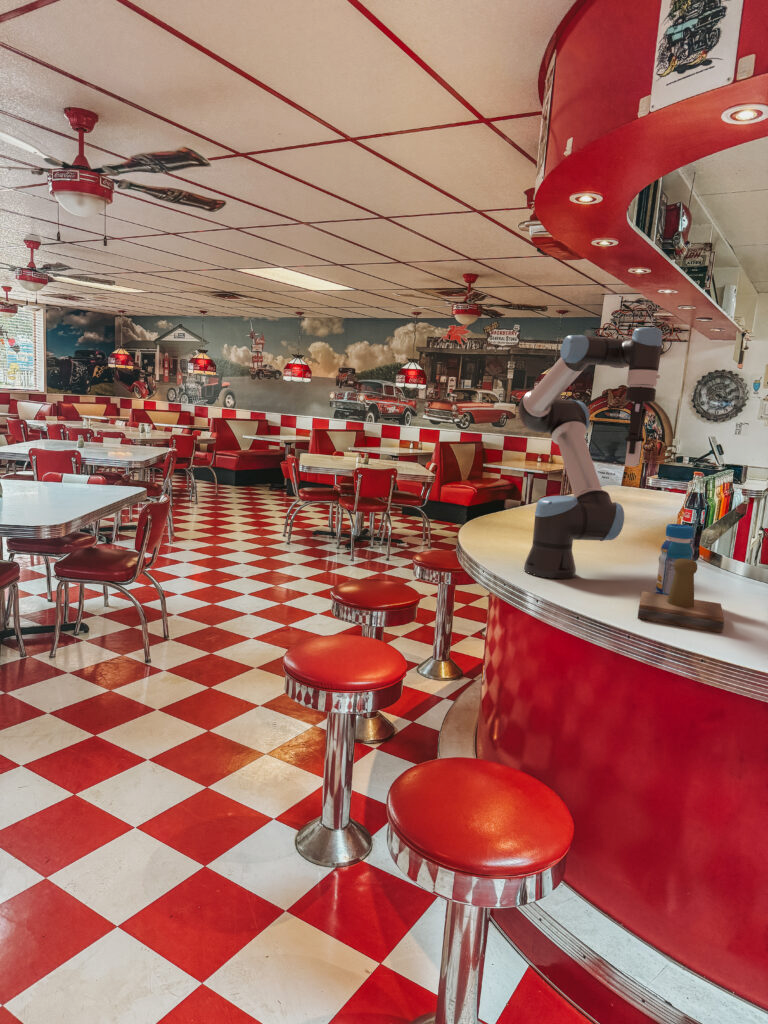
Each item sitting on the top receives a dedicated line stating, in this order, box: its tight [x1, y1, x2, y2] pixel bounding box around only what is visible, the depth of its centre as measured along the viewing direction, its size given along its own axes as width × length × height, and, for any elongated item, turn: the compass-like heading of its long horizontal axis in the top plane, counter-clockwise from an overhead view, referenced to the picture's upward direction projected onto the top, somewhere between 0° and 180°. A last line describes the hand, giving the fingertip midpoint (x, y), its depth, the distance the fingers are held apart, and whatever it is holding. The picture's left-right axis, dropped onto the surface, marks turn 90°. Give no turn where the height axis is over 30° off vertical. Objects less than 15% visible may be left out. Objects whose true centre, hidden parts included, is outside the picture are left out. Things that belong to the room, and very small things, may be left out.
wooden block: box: [637, 591, 725, 634], centre depth 155 cm, size 18×15×4 cm
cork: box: [667, 558, 699, 607], centre depth 155 cm, size 6×6×11 cm
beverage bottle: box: [654, 523, 695, 595], centre depth 172 cm, size 8×8×20 cm
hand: (632, 465), depth 177 cm, fingers open, 13 cm apart
